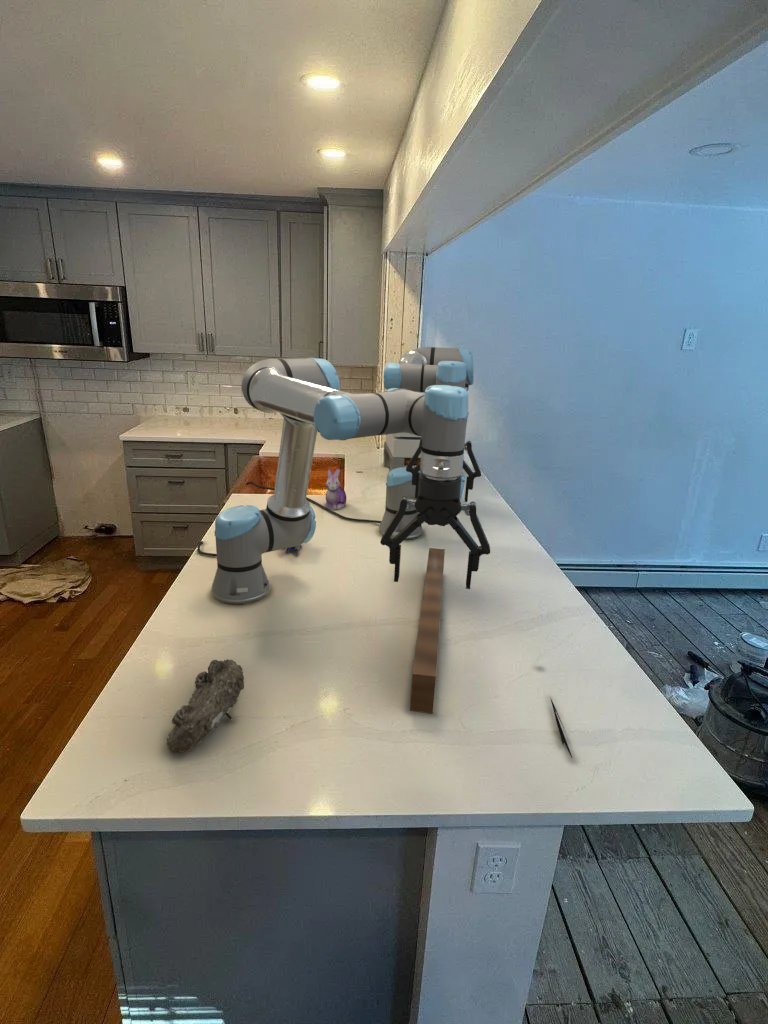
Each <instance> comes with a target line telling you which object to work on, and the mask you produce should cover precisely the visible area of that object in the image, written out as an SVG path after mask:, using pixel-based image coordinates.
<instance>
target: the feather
mask: <svg viewBox="0 0 768 1024" xmlns="http://www.w3.org/2000/svg"><path fill="white" fill-rule="evenodd" d="M539 669H541V666H540V667H539ZM549 697H550V702H551V706H552V710H553V714H554V718H555V722H556V726H557V729H558V732H559V737H560V740H561V744H562V745H564V746H565V748H566V750H567V751H568V753H569V755H570V757H571V758H573V756H572V753H571V750H570V748H569V745H570V747H572V744H571V740H569V741H568V742H567V740H566V739H567V738H569V735H567V732H566V727H564V723H563V721H562V720H561V717H560V715H559V713H558V710H557V708H556V706H555V704H554V702H553V699H552V697H551V696H549ZM566 735H567V738H566ZM568 743H569V744H568Z"/></svg>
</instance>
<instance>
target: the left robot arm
mask: <svg viewBox="0 0 768 1024" xmlns="http://www.w3.org/2000/svg"><path fill="white" fill-rule="evenodd" d="M336 370H337V369H336V368H335V367H334V365H333V364H332V363H331V362H330V361H329V360H327V359H325V358H315V357H311V356H310V357H304V358H302V357H301V358H267V359H262V360H259V361H257V362H256V363H253V364H252V365H251V366H250V367H249V368H248V369H247V370H246V372H245V373H244V375H243V376H242V380H241V392H242V395H243V398H244V400H245V401H246V402H247V404H248V405H249V406H251V407H252V408H253V409H255V410H256V411H259V412H262V413H265V414H274V413H279V414H280V415H281V417H282V418H283V421H282V428H281V429H282V430H281V436H280V445H279V452H278V458H277V460H278V461H277V466H276V474H275V475H276V476H275V482H274V483H275V484H274V488H275V490H273V494H272V495H270V496H269V497H268V498H267V502H266V508H264V509H259V508H258V507H257V506H255V505H249V504H247V505H236V506H233V507H229V508H227V509H224V510H222V511H221V512H220V513H218V515H217V516H216V518H215V520H214V521H215V522H214V537H215V549H216V553H212V552H204V551H202V550H201V546H202V545H203V544H204V541H203V540H200V541H198V543H197V545H196V552H198V553H199V554H200V555H203V556H207V557H216V561H217V562H216V565H217V567H216V571H215V575H214V577H213V582H212V584H211V596H212V598H213V599H214V600H216V601H217V602H219V603H222V604H225V605H233V606H240V605H247V604H253V603H256V602H258V601H261V600H263V599H264V598H266V597H267V596H268V595H269V594H270V581H269V579H268V576H267V574H266V571H265V568H264V566H263V559H262V556H263V554H266V553H270V552H275V551H280V550H286V549H287V548H289V547H296V546H299V545H301V546H302V545H305V544H307V543H308V542H310V541H311V540H312V539H313V537H314V535H315V532H316V528H317V521H316V520H315V519H316V513H315V511H314V508H313V507H312V506H311V504H310V501H308V500H306V497H307V496H308V489H309V482H310V477H311V471H312V465H313V459H314V453H315V447H316V441H317V436H318V433H319V435H320V437H321V438H323V439H324V440H326V441H347V440H350V439H351V440H352V439H359V438H360V439H361V438H367V437H376V436H386V434H395V433H411V434H414V435H417V436H421V437H422V445H421V459H420V472H421V473H422V474H421V475H420V476H419V489H418V498H417V499H416V500H413V499H408V497H407V496H403V497H402V499H401V502H400V507H399V509H398V511H397V513H396V514H395V516H394V518H393V519H392V521H391V523H390V524H389V526H388V527H387V529H386V531H385V532H384V534H383V535H381V537H380V542H379V543H380V545H381V546H386V547H388V548H389V555H388V556H389V558H388V562H389V564H390V565H394V571H393V572H394V573H393V582H394V583H398V582H399V578H400V570H401V555H402V554H401V553H402V543H403V542H404V541H406V540H405V539H406V538H407V537H408V536H409V535H410V534H411V533H412V532H413V531H414V530H415V529H416V528H417V527H419V526H420V525H423V524H424V523H425V524H427V526H440V527H446V526H447V525H449V526H450V527H451V529H452V530H453V531H454V532H455V533H456V534H457V535H458V536H459V538H460V539H461V541H462V543H464V545H465V546H466V547H467V548H468V550H469V551H468V558H467V559H468V560H467V568H466V578H465V589H466V590H470V589H471V585H472V577H473V576H472V574H473V572H475V573H477V572H478V571H479V567H480V558H481V556H483V555H489V554H491V545H490V543H489V540H488V538H487V535H486V533H485V531H484V528H483V526H482V523H481V520H480V519H479V516H478V514H477V502H476V501H470V502H469V503H462V502H461V501H460V491H461V478H460V477H459V476H460V475H461V476H462V474H463V470H464V469H463V459H464V458H465V457H464V456H465V449H464V445H465V442H466V434H467V426H468V425H467V424H468V419H469V418H468V417H469V392H468V391H466V390H465V389H464V388H462V387H457V386H449V385H433V386H429V387H427V388H426V390H425V393H424V392H414V391H411V390H408V389H404V388H403V389H398V388H391V389H388V390H386V391H383V392H382V391H381V392H370V393H367V392H366V393H351V392H347V391H342V390H341V383H340V378H339V376H338V373H337V371H336ZM411 507H415V508H416V510H417V511H418V514H417V515H416V516H415V518H414V519H413V520H412V521H411V522H410V523H409V524H408V525H407V526H405V527H404V528H403V529H402V530H401V531H400V532H399V533H398V534H397V535H396V536H395V537H394V538H390V537H391V535H392V534H393V532H394V531H395V529H396V527H397V526H398V524H399V522H400V521H401V519H402V518H403V516H404V514H405V511H409V510H410V509H411ZM462 511H463V512H464V514H465V516H468V517H469V519H470V523H471V526H472V527H473V530H474V532H475V535H476V538H477V539H478V542H479V544H480V545H478V544H477V542H476V541H475V539H474V538H473V537H472V536H471V534H470V533H469V531H468V530H467V529H466V528H465V526H464V525H463V524H462V522H461V521H460V519H459V518H458V515H459V514H460V513H461V512H462ZM197 548H198V549H197ZM285 548H286V549H285Z"/></svg>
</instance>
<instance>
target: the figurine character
mask: <svg viewBox="0 0 768 1024" xmlns="http://www.w3.org/2000/svg"><path fill="white" fill-rule="evenodd" d="M301 548H302V544H301V545H299V546H296V547H289V548H285V549H284V550H285V554H288V553H289V550H291V551H294V554H297V553H298V550H300V549H301Z"/></svg>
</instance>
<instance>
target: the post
mask: <svg viewBox="0 0 768 1024" xmlns="http://www.w3.org/2000/svg"><path fill="white" fill-rule="evenodd" d="M445 551H446V549H445V548H435V547H429V548H428V554H427V562H426V563H427V564H426V570H425V576H424V577H425V578H424V584H423V593H422V599H421V607H420V615H419V621H418V628H417V636H416V643H415V651H414V659H413V666H412V673H411V687H410V688H411V690H410V701H409V711H410V712H419V713H428V714H433V713H434V705H435V704H434V703H435V693H436V682H437V668H438V667H437V666H438V652H439V640H440V626H441V613H442V612H441V610H442V597H443V583H444V582H443V581H444V568H445V555H446V554H445V553H446V552H445Z"/></svg>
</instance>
